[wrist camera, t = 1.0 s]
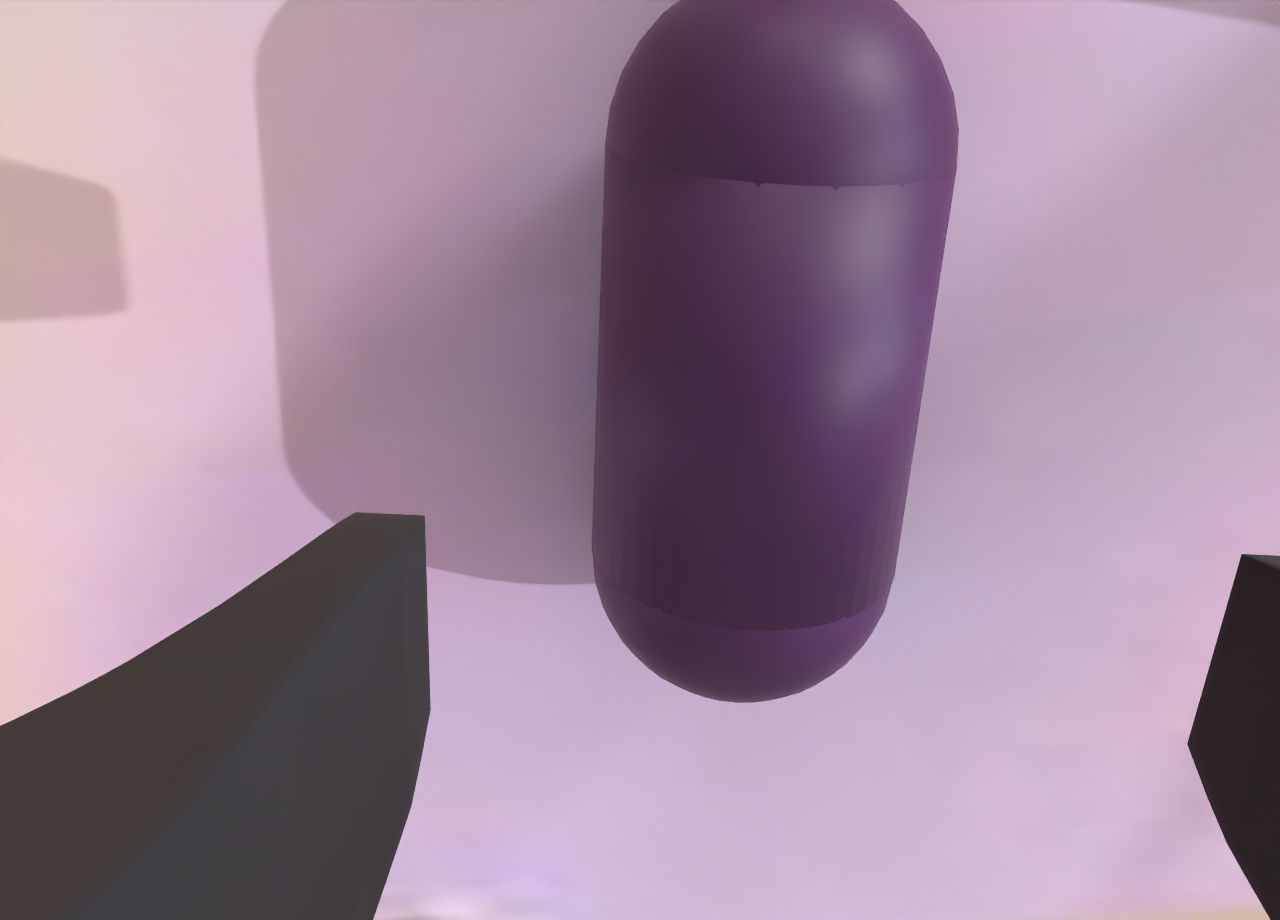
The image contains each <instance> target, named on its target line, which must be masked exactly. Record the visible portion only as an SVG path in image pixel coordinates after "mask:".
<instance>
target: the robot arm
mask: <svg viewBox="0 0 1280 920" xmlns="http://www.w3.org/2000/svg"><path fill="white" fill-rule="evenodd" d="M429 715H430V677H429V644H428V611H427V578H426V545H425V516H420V515H399V514H378V513H356V512H355V513H354V514H352V515H350V516H348V517H347V518H345V519H343V520H342V521H340V522H339V523H337V524H336V525H334V526H333V527H331V528H330V529H328V530H327V531H325V532H324V533H323V534H321V535H320V536H318V537H317V538H315V539H314V540H313V541H311V542H310V543H308V544H307V545H306V546H304V547H303V548H301V549H300V550H298V551H297V552H296V553H294V554H293V555H291V556H290V557H289V558H287V559H286V560H284V561H283V562H282V563H280V564H279V565H277V566H276V567H274V568H273V569H271V570H270V571H268V572H267V573H266V574H264V575H263V576H261V577H260V578H258V579H257V580H255V581H254V582H252V583H251V584H250V585H248V586H247V587H245V588H244V589H242V590H241V591H239V592H238V593H236V594H235V595H234V596H232V597H231V598H229V599H228V600H226V601H225V602H223V603H222V604H220V605H219V606H217V607H216V608H214V609H212V610H211V611H209V612H208V613H206V614H204V615H203V616H201V617H199V618H198V619H196V620H195V621H193V622H191V623H190V624H188V625H186V626H185V627H183V628H181V629H180V630H178V631H177V632H175V633H173V634H172V635H170V636H168V637H167V638H165V639H164V640H162V641H160V642H159V643H157V644H155V645H154V646H152V647H150V648H149V649H147V650H146V651H144V652H142V653H141V654H139V655H137V656H136V657H134V658H133V659H131V660H129V661H127V662H126V663H124V664H122V665H120V666H119V667H117V668H115V669H113V670H111V671H110V672H108V673H106V674H104V675H102V676H100V677H98V678H97V679H95V680H93V681H91V682H89V683H87V684H85V685H83V686H81V687H80V688H78V689H76V690H74V691H72V692H70V693H68V694H66V695H64V696H62V697H60V698H58V699H55V700H53V701H51V702H49V703H47V704H45V705H43V706H41V707H39V708H37V709H35V710H33V711H31V712H29V713H27V714H25V715H23V716H21V717H19V718H17V719H14V720H12V721H10V722H8V723H6V724H4V725H1V726H0V920H373V918H374V915H375V912H376V909H377V906H378V903H379V901H380V898H381V895H382V892H383V889H384V886H385V883H386V880H387V877H388V874H389V871H390V868H391V865H392V862H393V859H394V856H395V853H396V850H397V848H398V845H399V842H400V839H401V836H402V833H403V830H404V827H405V824H406V821H407V817H408V814H409V811H410V808H411V805H412V800H413V795H414V790H415V786H416V781H417V776H418V771H419V767H420V762H421V756H422V751H423V746H424V741H425V735H426V730H427V725H428V720H429ZM1188 747H1189V750H1190V752H1191V755H1192V758H1193V760H1194V763H1195V766H1196V768H1197V771H1198V774H1199V776H1200V779H1201V781H1202V784H1203V787H1204V789H1205V792H1206V795H1207V797H1208V800H1209V802H1210V805H1211V807H1212V809H1213V812H1214V814H1215V816H1216V819H1217V821H1218V823H1219V826H1220V828H1221V830H1222V833H1223V835H1224V837H1225V840H1226V842H1227V844H1228V846H1229V848H1230V849H1231V851H1232V853H1233V855H1234V857H1235V858H1236V860H1237V862H1238V864H1239V866H1240V867H1241V869H1242V871H1243V873H1244V874H1245V876H1246V878H1247V880H1248V881H1249V883H1250V885H1251V887H1252V888H1253V890H1254V892H1255V893H1256V895H1257V897H1258V899H1259V900H1260V902H1261V904H1262V906H1263V907H1264V909H1265V911H1266V913H1267V914H1268V916H1269V918H1270V919H1271V920H1280V556H1271V555H1250V554H1242V555H1241V559H1240V562H1239V566H1238V569H1237V573H1236V576H1235V580H1234V583H1233V586H1232V590H1231V593H1230V597H1229V600H1228V604H1227V607H1226V611H1225V614H1224V618H1223V621H1222V625H1221V628H1220V632H1219V635H1218V639H1217V642H1216V646H1215V649H1214V653H1213V656H1212V660H1211V663H1210V667H1209V670H1208V674H1207V677H1206V681H1205V684H1204V688H1203V691H1202V695H1201V698H1200V702H1199V705H1198V709H1197V712H1196V716H1195V719H1194V723H1193V726H1192V730H1191V733H1190V737H1189V740H1188Z"/></svg>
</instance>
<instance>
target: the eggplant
mask: <svg viewBox="0 0 1280 920" xmlns="http://www.w3.org/2000/svg"><path fill="white" fill-rule="evenodd" d="M958 133H959V128H958V121H957V114H956V108H955V101H954V94H953V91H952V88H951V85H950V83H949V80H948V77H947V75H946V72H945V69H944V66H943V64H942V61H941V59H940V57H939V55H938V54H937V52H936V51H935V49H934V47H933V46H932V44H931V43H930V41H929V39H928V38H927V36H926V34H925V33H924V31H923V30H922V28H921V27H920V26H919V25H918V24H917V23H916V22H915V21H914V20H913V19H912V18H911V17H910V16H909V15H908V14H907V13H906V12H905V11H904V9H903V8H902V7H901V6H900V5H899V4H898V3H897V2H896V1H894V0H680V1H678V2H677V3H676V4H675V5H673V6H672V7H671V8H669V9H668V10H667V11H666V12H664V13H663V14H662V15H661V17H660V18H659V19H658V20H657V21H656V22H655V24H654V25H653V26H652V27H651V28H650V29H649V31H648V32H647V33H646V34H645V35H644V36H643V38H642V39H641V40H640V41H639V43H638V45H637V46H636V48H635V50H634V52H633V53H632V55H631V57H630V59H629V61H628V62H627V64H626V66H625V68H624V69H623V71H622V73H621V76H620V79H619V82H618V85H617V88H616V91H615V94H614V97H613V100H612V103H611V106H610V112H609V120H608V127H607V135H606V145H605V175H604V204H603V233H602V262H601V291H600V321H599V350H598V379H597V408H596V437H595V467H594V496H593V525H592V552H593V563H594V574H595V583H596V586H597V589H598V592H599V595H600V599H601V602H602V605H603V608H604V610H605V612H606V614H607V616H608V618H609V620H610V622H611V623H612V625H613V627H614V628H615V630H616V632H617V633H618V635H619V637H620V638H621V640H622V641H623V643H624V644H625V645H626V646H627V647H628V648H629V649H630V650H631V652H632V653H633V654H634V655H635V656H636V657H637V658H638V659H639V660H640V661H641V662H643V663H644V664H645V665H646V666H647V667H648V668H649V669H650V670H652V671H653V672H654V673H656V674H657V675H658V676H660V677H661V678H663V679H664V680H666V681H668V682H670V683H672V684H674V685H676V686H678V687H680V688H682V689H684V690H687V691H689V692H691V693H694V694H697V695H700V696H703V697H706V698H710V699H715V700H719V701H728V702H737V703H740V702H760V701H767V700H773V699H777V698H782V697H786V696H789V695H793V694H796V693H800V692H802V691H804V690H806V689H808V688H810V687H812V686H814V685H816V684H818V683H819V682H821V681H823V680H824V679H826V678H827V677H829V676H831V675H832V674H834V673H835V672H836V671H838V670H839V669H840V668H841V667H843V666H844V665H845V664H847V662H848V661H849V660H850V659H851V658H852V657H853V656H854V655H855V654H856V653H857V652H858V651H859V649H860V648H861V647H862V646H863V645H864V643H865V642H866V641H867V639H868V638H869V636H870V635H871V634H872V632H873V630H874V628H875V627H876V625H877V623H878V621H879V619H880V617H881V616H882V614H883V612H884V610H885V606H886V602H887V599H888V595H889V591H890V588H891V584H892V581H893V578H894V574H895V568H896V561H897V555H898V548H899V542H900V535H901V529H902V522H903V516H904V509H905V502H906V496H907V489H908V483H909V476H910V470H911V463H912V457H913V450H914V444H915V437H916V430H917V424H918V417H919V411H920V404H921V398H922V391H923V385H924V378H925V372H926V365H927V358H928V352H929V345H930V339H931V332H932V326H933V319H934V313H935V306H936V300H937V293H938V286H939V280H940V273H941V267H942V260H943V254H944V247H945V241H946V234H947V227H948V221H949V214H950V208H951V201H952V195H953V188H954V182H955V175H956V169H957V152H958Z"/></svg>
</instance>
